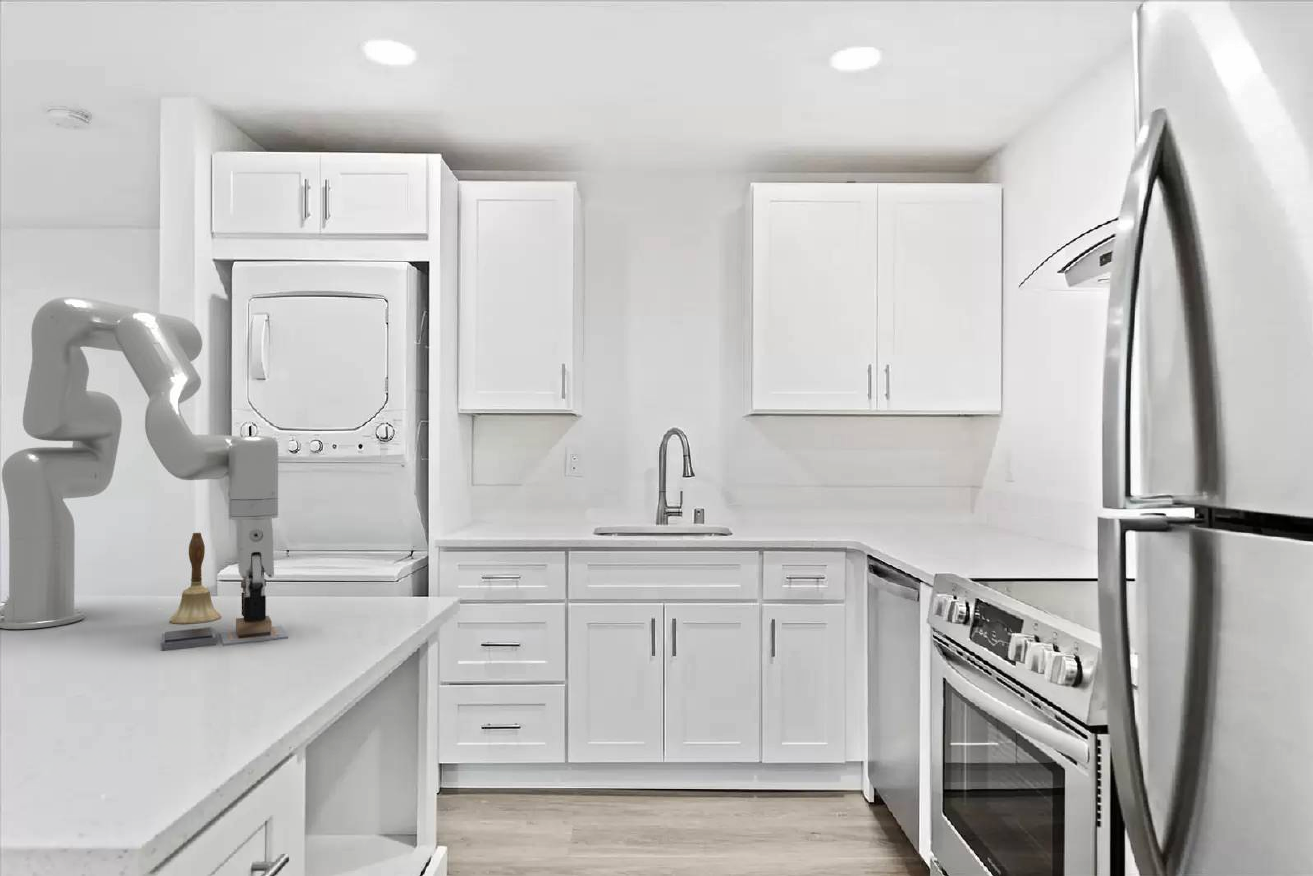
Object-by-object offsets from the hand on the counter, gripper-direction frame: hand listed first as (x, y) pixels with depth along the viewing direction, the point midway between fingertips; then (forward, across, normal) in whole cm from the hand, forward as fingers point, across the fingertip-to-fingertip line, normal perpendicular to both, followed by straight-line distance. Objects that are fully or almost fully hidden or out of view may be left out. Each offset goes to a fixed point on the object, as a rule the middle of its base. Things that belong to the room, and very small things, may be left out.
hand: (253, 616), depth 139 cm
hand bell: (+3, +20, +8) cm, 22 cm away
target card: (+3, 0, 0) cm, 3 cm away
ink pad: (+3, 0, +10) cm, 10 cm away
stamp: (+3, 0, 0) cm, 3 cm away
